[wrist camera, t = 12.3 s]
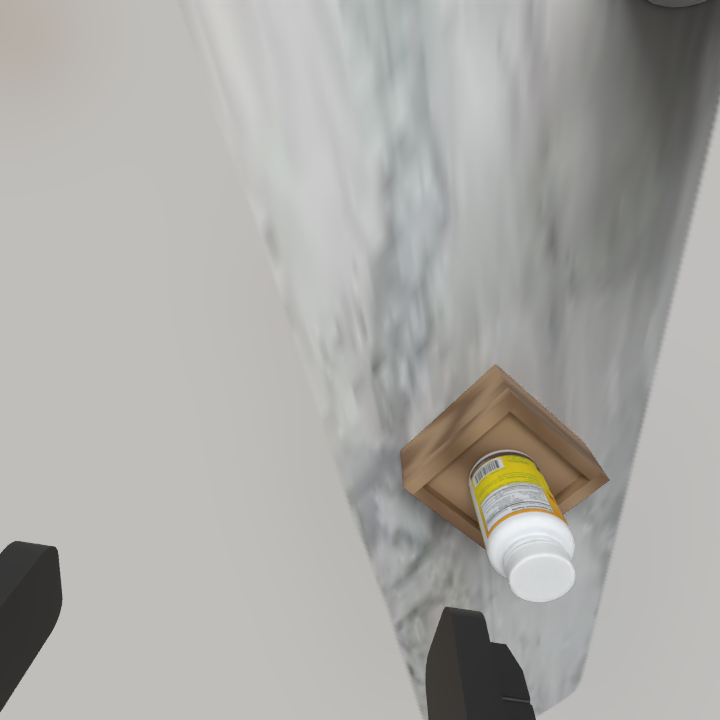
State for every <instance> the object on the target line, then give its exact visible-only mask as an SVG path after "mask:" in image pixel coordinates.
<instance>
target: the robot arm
mask: <svg viewBox="0 0 720 720" xmlns="http://www.w3.org/2000/svg"><path fill="white" fill-rule="evenodd" d="M647 1H649V2H651V3H653V4H656V5H661V6H665V7H687V6H691V5H694V4H698V3H702V2H705V1H707V0H647ZM61 606H62V588H61V578H60V567H59V556H58V551H57V549H56V547H54V546H47V545H41V544H33V543H27V542H21V541H15V542H12V543H11V544H9V545H8V546H7V547H6V548H5V549H4V550H3V551H2V552H1V554H0V712H1V710H2V709H3V707H4V706H5V704H6V702H7V701H8V699H9V698H10V696H11V695H12V693H13V692H14V690H15V688H16V687H17V685H18V684H19V682H20V680H21V679H22V677H23V676H24V674H25V672H26V671H27V670H28V668H29V666H30V665H31V663H32V662H33V660H34V659H35V657H36V655H37V654H38V652H39V651H40V649H41V648H42V646H43V645H44V643H45V641H46V640H47V638H48V637H49V635H50V634H51V632H52V630H53V628H54V626H55V624H56V622H57V620H58V617H59V614H60V611H61ZM426 695H427V706H428V718H429V720H536V718H535V715H534V711H533V707H532V705H530V696H529V692H528V689H527V685H526V681H525V678H524V674H523V670H522V669H521V667H520V666H519V664H518V662H517V661H516V659H515V658H514V656H513V655H512V653H511V651H510V650H509V648H508V647H507V645H506V644H500V643H493V642H490V639H489V634H488V630H487V625H486V621H485V618H484V615H483V614H482V613H481V612H478V611H472V610H465V609H458V608H452V607H445V608H444V610H443V612H442V615H441V618H440V621H439V624H438V627H437V630H436V633H435V636H434V638H433V641H432V644H431V647H430V650H429V653H428V657H427V664H426Z"/></svg>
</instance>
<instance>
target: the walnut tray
mask: <svg viewBox="0 0 720 720" xmlns="http://www.w3.org/2000/svg"><path fill="white" fill-rule="evenodd" d="M498 450H516V451H519V452H522V453H524V454H526V455H528V456H529V457H531V458H532V459H533V460H534V461H535V462H536V464H537V465H538V467H539V469H540V471H541V473H542V475H543V477H544V479H545V481H546V483H547V485H548V487H549V489H550V491H551V493H552V495H553V497H554V499H555V501H556V503H557V505H558V507H559V509H560V510H561V512H562V514H565V513H566V512H567V511H569V510H570V509H571V508H573V507H574V506H575V505H577V504H578V503H580V502H581V501H582V500H584V499H585V498H586V497H588V496H589V495H590V494H592V493H593V492H594V491H596V490H597V489H598V488H600V487H601V486H602V485H604V484H605V483H607V482H608V481H609V479H608V477H607V476H606V474H605V473H604V471H603V470H602V468H601V467H600V465H599V464H598V462H597V461H596V459H595V458H594V456H593V455H592V453H591V452H590V450H589V449H588V447H587V446H586V444H585V443H584V442H583V441H582V440H580V439H579V438H578V437H577V436H576V435H575V434H574V433H573V432H571V431H570V430H569V429H568V428H567V427H566V426H565V425H564V424H562V423H561V422H560V421H559V420H558V419H557V418H556V417H555V416H553V415H552V414H551V413H550V412H549V411H548V410H547V409H546V408H544V407H543V406H542V405H541V404H540V403H539V402H538V401H536V400H535V399H534V398H533V397H532V396H531V395H530V394H529V393H527V392H526V391H525V390H524V389H523V388H522V387H521V386H520V385H518V384H517V383H516V382H515V381H514V380H513V379H512V378H511V377H509V376H508V375H507V374H506V373H505V372H504V371H503V370H502V369H500V368H499V367H498V366H497V365H496V364H495V365H494V366H493V367H492V368H491V369H490V370H489V371H488V372H487V373H486V374H484V375H483V376H482V377H481V378H480V379H479V380H478V381H477V382H476V383H475V384H473V385H472V386H471V387H470V388H469V389H468V390H467V391H466V392H465V393H464V394H462V395H461V396H460V397H459V398H458V399H457V400H456V401H455V402H454V403H453V404H451V405H450V406H449V407H448V408H447V409H446V410H445V411H444V412H443V413H442V414H440V415H439V416H438V417H437V418H436V419H435V420H434V421H433V422H432V423H431V424H429V425H428V426H427V427H426V428H425V429H424V430H423V431H422V432H421V433H420V434H418V435H417V436H416V437H415V438H414V439H413V440H412V441H411V442H410V443H409V444H407V445H406V446H405V447H404V448H403V449H402V450H401V451H400V452H401V464H402V476H403V488H404V489H406V490H407V491H408V492H410V493H411V494H412V495H414V496H415V497H416V498H418V499H419V500H420V501H422V502H423V503H424V504H426V505H427V506H428V507H430V508H431V509H432V510H434V511H435V512H436V513H438V514H439V515H440V516H442V517H443V518H444V519H446V520H447V521H448V522H450V523H451V524H452V525H454V526H455V527H456V528H458V529H459V530H460V531H462V532H463V533H464V534H466V535H467V536H468V537H470V538H471V539H472V540H474V541H475V542H476V543H478V544H479V545H480V546H482V547H483V548H484V549H486V548H485V545H484V541H483V537H482V534H481V530H480V526H479V523H478V519H477V515H476V512H475V508H474V504H473V501H472V497H471V493H470V489H469V476H470V472H471V470H472V468H473V467H474V465H475V464H476V463H477V462H478V461H479V460H480V459H481V458H482V457H484V456H485V455H487V454H489V453H491V452H494V451H498Z"/></svg>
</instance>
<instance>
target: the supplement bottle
mask: <svg viewBox="0 0 720 720" xmlns="http://www.w3.org/2000/svg"><path fill="white" fill-rule="evenodd" d="M469 489H470V493H471V497H472V501H473V504H474V508H475V512H476V515H477V519H478V523H479V526H480V530H481V534H482V537H483V541H484V545H485V548H486V552H487V556H488V559H489V561H490V563H491V565H492V567H493V568H494V569H495V570H496V571H497V572H498V573H499V574H500V575H501V576H503V577H505V578H506V579H508V582H509V585H510V588H511V590H512V591H513V592H514V593H515V594H516V595H517V596H518V597H520V598H521V599H524V600H526V601H530V602H547V601H551V600H555V599H557V598H559V597H561V596H562V595H564V594H565V593H566V592H568V591H569V590H570V588H571V587H572V585H573V584H574V581H575V570H574V567H573V565H572V562H571V559H572V557H573V554H574V549H575V542H574V538H573V535H572V533H571V530H570V528H569V526H568V524H567V522H566V520H565V518H564V516H563V514H562V512H561V510H560V509H559V507H558V505H557V503H556V501H555V499H554V497H553V495H552V493H551V491H550V489H549V487H548V485H547V483H546V481H545V479H544V477H543V475H542V473H541V471H540V469H539V467H538V465H537V464H536V462H535V461H534V460H533V459H532V458H531V457H529V456H528V455H526V454H524V453H522V452H519V451H516V450H498V451H494V452H491V453H489V454H487V455H485V456H484V457H482V458H481V459H480V460H479V461H478V462H477V463H476V464H475V465H474V467H473V468H472V470H471V472H470V476H469Z"/></svg>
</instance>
